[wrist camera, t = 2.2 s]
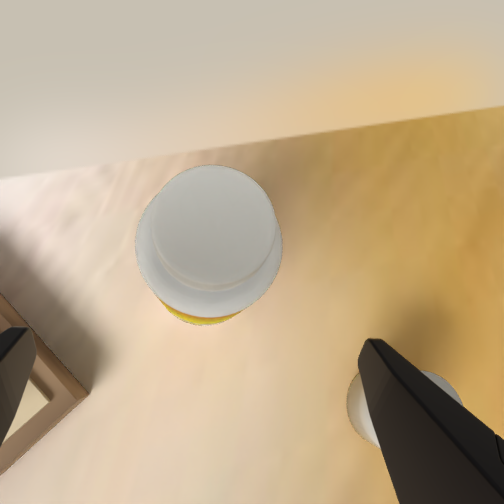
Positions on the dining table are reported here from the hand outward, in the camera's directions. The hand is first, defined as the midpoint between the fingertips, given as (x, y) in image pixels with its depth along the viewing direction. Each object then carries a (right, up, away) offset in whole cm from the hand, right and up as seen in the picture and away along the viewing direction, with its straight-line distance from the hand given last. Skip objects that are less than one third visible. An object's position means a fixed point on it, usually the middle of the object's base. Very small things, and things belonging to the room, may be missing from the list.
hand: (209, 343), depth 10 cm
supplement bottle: (-2, +1, +11) cm, 11 cm away
